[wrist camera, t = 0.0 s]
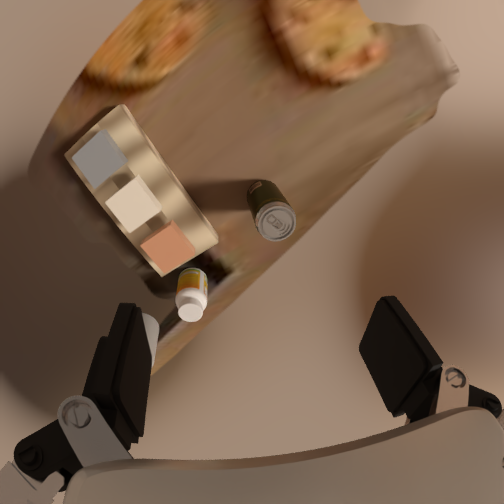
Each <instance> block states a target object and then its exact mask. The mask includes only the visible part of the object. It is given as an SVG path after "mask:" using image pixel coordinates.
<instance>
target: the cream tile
mask: <svg viewBox="0 0 504 504" xmlns="http://www.w3.org/2000/svg"><path fill="white" fill-rule="evenodd" d="M105 203H106V205H107V206H108V207H109V209H110V210H111V211H112V212H113V214H114V215H115V216H116V217H117V219H118V220H119V221H120V222H121V223H122V225H123V226H124V227H125V228H126V230H127V231H128V232H129V233H131V232H132V231H134V230H135V229H136V228H138V227H139V226H140V225H142V224H143V223H145V222H146V221H147V220H149V219H150V218H152V217H153V216H154V215H156V214H157V213H159V212H160V211H161V209H162V205H161V204H160V202H159V201H158V200H157V198H156V197H155V196H154V195H153V193H152V192H151V191H150V189H149V188H148V187H147V185H146V184H145V183H144V181H143V180H142V179H141V177H140V176H139V174H138V175H137V176H136V177H135V178H133V179H132V180H131V181H129V182H128V183H127V184H126V185H124V186H123V187H122V188H121V189H119V190H118V191H117V192H116V193H115V194H113V195H112V196H111V197H110V198H109V199H108V200H107V201H106V202H105Z"/></svg>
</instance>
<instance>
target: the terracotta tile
mask: <svg viewBox="0 0 504 504" xmlns="http://www.w3.org/2000/svg"><path fill="white" fill-rule="evenodd" d="M140 246H141V248H142V249H143V250H144V251H145V252H146V253H147V255H148V256H149V257H150V258H151V259H152V260H153V261H154V263H155V264H156V265H157V266H158V267H159V268H160V269H161V271H162V272H163V273H164V274H165V273H167V272H168V271H170V270H171V269H173V268H175V267H176V266H178V265H179V264H181V263H183V262H184V261H186V260H188V259H189V258H191V257H192V256H194V255H195V247H194V246H193V245H192V244H191V242H190V241H189V240H188V239H187V237H186V236H185V235H184V233H183V232H182V231H181V230H180V228H179V227H178V226H177V225H176V223H175V222H174V221H173V219H172V220H171V221H169V222H168V223H166V224H165V225H163V226H162V227H160V228H159V229H157V230H156V231H155V232H153V233H152V234H150V235H149V236H147V237H146V238H145V239H143V240H142V243H141V245H140Z"/></svg>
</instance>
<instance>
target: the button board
mask: <svg viewBox="0 0 504 504" xmlns="http://www.w3.org/2000/svg"><path fill="white" fill-rule="evenodd" d="M104 129H106V130H107V132H108V133H109V134H110V136H111V137H112V139H113V140H114V141H115V143H116V144H117V146H118V147H119V148H120V150H121V151H122V153H123V154H124V155H125V157H126V158H127V159H128V162H127V163H125V164H124V165H123V166H122V167H120V168H119V169H118V170H117V171H116V172H114V173H113V174H112V175H111V176H110V177H108V178H107V179H106V180H105V181H104V182H103V183H102V184H100V185H99V186H98V187H97V188H96V189H94V188H93V186H92V185H91V184H90V182H89V181H88V180H87V178H86V177H85V176H84V174H83V173H82V172H81V170H80V169H79V168H78V166H77V165H76V163H75V162H74V161H73V159H72V157H73V156H74V155H75V154H76V153H77V152H78V151H79V150H80V149H81V148H82V147H83V146H84V145H85V144H86V143H87V142H88V141H90V140H91V139H92V138H93V137H94V136H95V135H96V134H97V133H98V132H100V131H101V130H104ZM64 156H65V157H66V159H67V160H68V162H69V163H70V165H71V166H72V167H73V169H74V170H75V171H76V173H77V174H78V176H79V177H80V178H81V180H82V181H83V182H84V184H85V185H86V186H87V188H88V189H89V190H90V192H91V193H92V194H93V196H94V197H95V198H96V199H97V201H98V202H99V203H100V205H101V206H102V207H103V208H104V210H105V211H106V212H107V213H108V215H109V216H110V217H111V218H112V220H113V221H114V222H115V223H116V225H117V226H118V227H119V228H120V230H121V231H122V232H123V233H124V234H125V236H126V237H127V238H128V239H129V240H130V242H131V243H132V244H133V245H134V246H135V247H136V249H137V250H138V251H139V252H140V253H141V254H142V256H143V257H144V258H145V259H146V260H147V261H148V262H149V264H150V265H151V266H152V267H153V268H154V269H155V270H156V271H157V273H158V274H159V275H160V276H161V277H163V276H164V275H166V274H168V273H169V272H171V271H172V270H174V269H176V268H177V267H179V266H181V265H182V264H184V263H185V262H187V261H189V260H190V259H192V258H194V257H195V256H197V255H199V254H200V253H202V252H203V251H205V250H207V249H208V248H210V247H212V246H213V245H215V244H217V243H218V234H217V232H216V231H215V230H214V228H213V227H212V226H211V224H210V223H209V222H208V220H207V219H206V217H205V216H204V215H203V213H202V212H201V211H200V209H199V208H198V207H197V205H196V204H195V202H194V201H193V200H192V198H191V197H190V196H189V194H188V193H187V191H186V190H185V189H184V187H183V186H182V184H181V183H180V182H179V180H178V179H177V178H176V176H175V175H174V173H173V172H172V171H171V169H170V168H169V166H168V165H167V164H166V162H165V161H164V159H163V158H162V157H161V155H160V154H159V152H158V151H157V150H156V148H155V147H154V145H153V144H152V143H151V141H150V140H149V138H148V137H147V136H146V134H145V133H144V131H143V130H142V128H141V127H140V126H139V124H138V123H137V121H136V120H135V119H134V117H133V116H132V114H131V113H130V111H129V110H128V109H127V107H126V106H125V104H124V105H118V106H117V107H115V108H114V109H113V110H112V111H111V112H109V113H108V114H107V115H106V116H105V117H104V118H102V119H101V120H100V121H99V122H98V123H97V124H96V125H94V126H93V127H92V128H91V129H90V130H89V131H88V132H87V133H86V134H85V135H84V136H83V137H81V138H80V139H79V140H78V141H77V142H76V143H75V144H74V145H73V146H72V147H71V148H70V149H69V150H68V151H67V152H66V153H65V154H64ZM138 174H139V176H140V177H141V179H142V180H143V181H144V183H145V184H146V185H147V187H148V188H149V189H150V191H151V192H152V193H153V195H154V196H155V197H156V198H157V200H158V201H159V202H160V204H161V205H162V209H161V211H160V212H159V213H157V214H156V215H154V216H153V217H152V218H150V219H149V220H147V221H146V222H145V223H143V224H142V225H140V226H139V227H138V228H136V229H135V230H134V231H132V232H131V233H129V232H128V231H127V230H126V228H125V227H124V226H123V225H122V223H121V222H120V221H119V220H118V219H117V217H116V216H115V215H114V214H113V212H112V211H111V210H110V209H109V207H108V206H107V205H106V203H105V202H106V201H107V200H108V199H109V198H110V197H111V196H112V195H113V194H115V193H116V192H117V191H118V190H119V189H121V188H122V187H123V186H124V185H126V184H127V183H128V182H129V181H131V180H132V179H133V178H135V177H136V176H137V175H138ZM172 219H173V221H174V222H175V223H176V225H177V226H178V227H179V228H180V230H181V231H182V232H183V233H184V235H185V236H186V237H187V239H188V240H189V241H190V242H191V244H192V245H193V246H194V247H195V255H194V256H192V257H191V258H189V259H188V260H186V261H184V262H183V263H181V264H179V265H178V266H176V267H175V268H173V269H171V270H170V271H168V272H167V273H165V274H164V273H163V272H162V271H161V269H160V268H159V267H158V266H157V265H156V264H155V263H154V261H153V260H152V259H151V258H150V257H149V256H148V255H147V253H146V252H145V251H144V250H143V249H142V248H141V246H140V245H141V243H142V240H143V239H145V238H146V237H147V236H149V235H150V234H152V233H153V232H155V231H156V230H157V229H159V228H160V227H162V226H163V225H165V224H166V223H168V222H169V221H171V220H172Z"/></svg>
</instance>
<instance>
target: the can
mask: <svg viewBox="0 0 504 504" xmlns="http://www.w3.org/2000/svg"><path fill="white" fill-rule="evenodd" d="M142 316H143V320H144V325H145V329H146V334H147V338H148V342H149V346H150V350H151V354H152V367H153V364H154V359H155V353H156V346H157V340H158V334H159V324H158V323H157V321H156V320H155V319H154V318H153V317H151V316H150V315H148V314H145V313H142Z"/></svg>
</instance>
